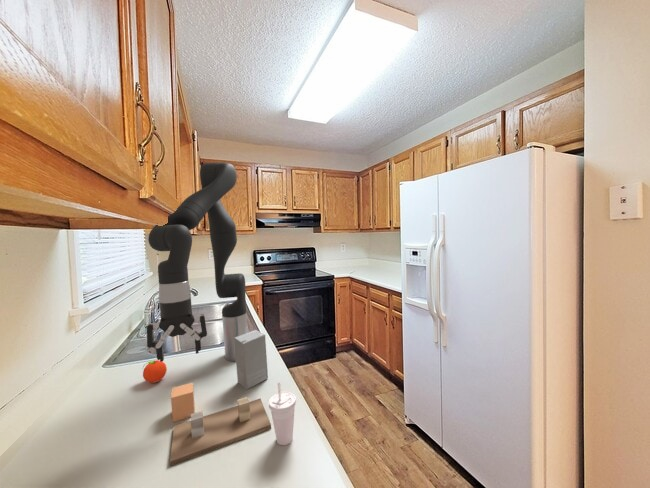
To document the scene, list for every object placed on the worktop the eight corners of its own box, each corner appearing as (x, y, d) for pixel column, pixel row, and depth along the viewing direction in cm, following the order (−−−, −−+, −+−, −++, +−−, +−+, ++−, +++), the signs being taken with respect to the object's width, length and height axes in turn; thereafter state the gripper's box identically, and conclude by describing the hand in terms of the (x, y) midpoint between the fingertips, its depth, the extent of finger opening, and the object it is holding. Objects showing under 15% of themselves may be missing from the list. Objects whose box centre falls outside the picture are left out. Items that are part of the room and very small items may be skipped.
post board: (174, 429, 68) (172, 408, 68) (260, 401, 78) (259, 383, 78) (170, 465, 58) (168, 441, 57) (271, 428, 67) (269, 407, 67)
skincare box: (258, 372, 94) (255, 328, 93) (269, 379, 89) (266, 333, 88) (235, 382, 88) (232, 336, 87) (246, 391, 83) (243, 341, 82)
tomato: (135, 387, 89) (133, 366, 88) (150, 375, 96) (148, 356, 95) (158, 387, 88) (156, 366, 88) (171, 375, 95) (170, 356, 95)
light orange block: (174, 410, 76) (172, 387, 75) (194, 404, 78) (192, 382, 78) (172, 422, 71) (170, 398, 71) (194, 415, 73) (192, 392, 73)
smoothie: (269, 433, 65) (265, 378, 64) (294, 425, 68) (291, 372, 67) (273, 454, 59) (269, 393, 58) (301, 444, 62) (298, 385, 61)
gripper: (203, 291, 79) (207, 345, 80) (146, 299, 73) (151, 357, 74) (204, 296, 73) (208, 355, 73) (141, 305, 66) (147, 369, 67)
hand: (180, 356), depth 74 cm, fingers open, 8 cm apart
